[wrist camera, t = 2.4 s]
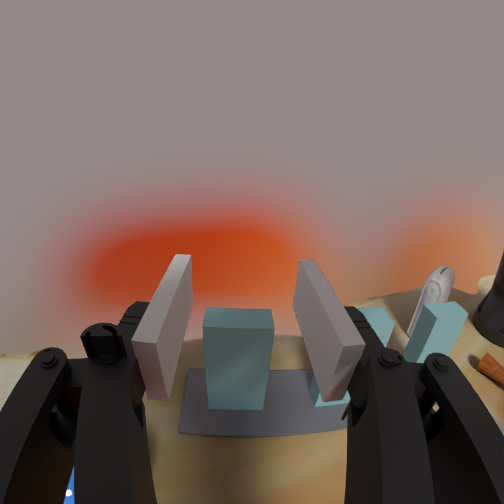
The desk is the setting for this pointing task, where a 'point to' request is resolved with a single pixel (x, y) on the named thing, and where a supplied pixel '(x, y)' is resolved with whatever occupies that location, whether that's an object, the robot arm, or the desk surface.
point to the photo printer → (433, 292)
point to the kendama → (491, 368)
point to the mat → (261, 421)
